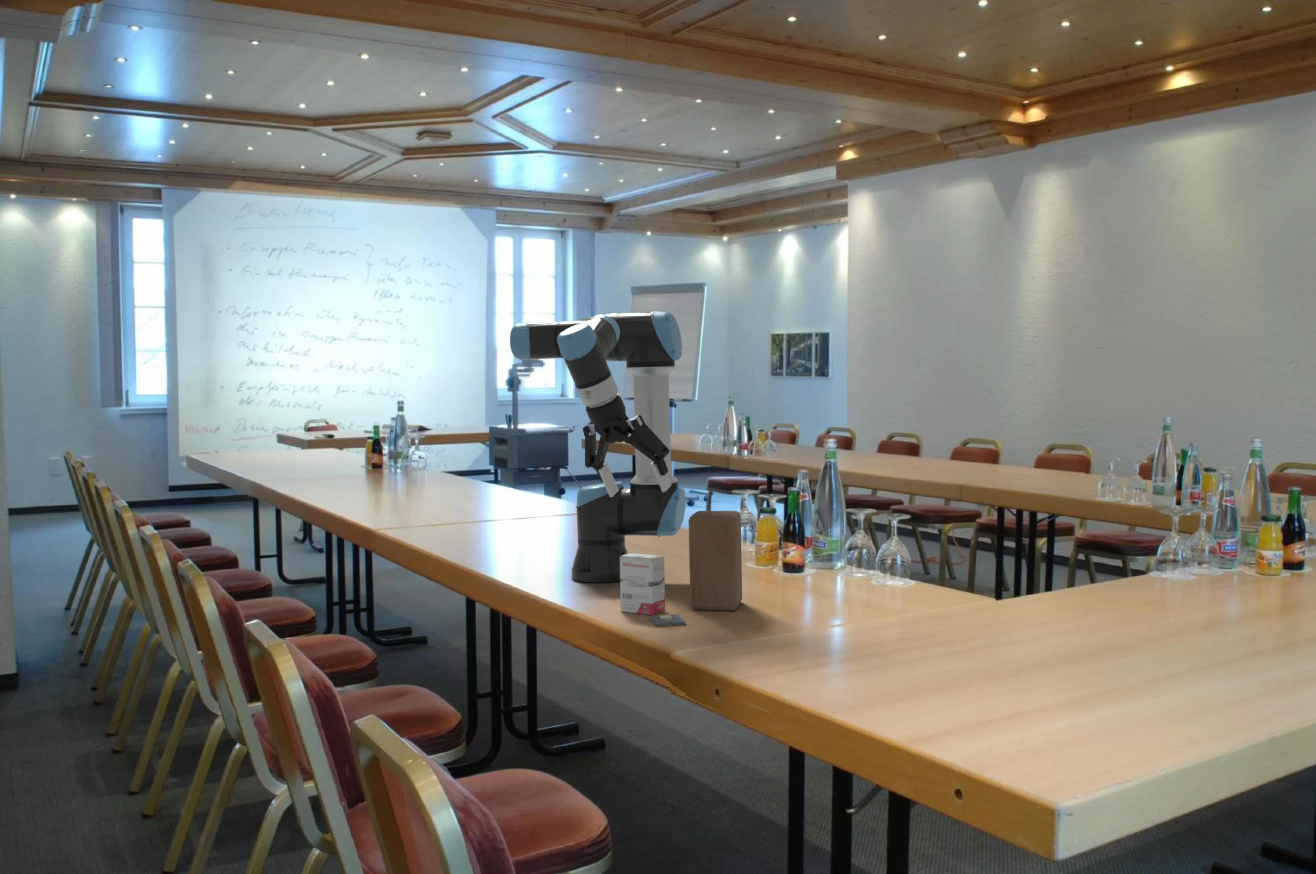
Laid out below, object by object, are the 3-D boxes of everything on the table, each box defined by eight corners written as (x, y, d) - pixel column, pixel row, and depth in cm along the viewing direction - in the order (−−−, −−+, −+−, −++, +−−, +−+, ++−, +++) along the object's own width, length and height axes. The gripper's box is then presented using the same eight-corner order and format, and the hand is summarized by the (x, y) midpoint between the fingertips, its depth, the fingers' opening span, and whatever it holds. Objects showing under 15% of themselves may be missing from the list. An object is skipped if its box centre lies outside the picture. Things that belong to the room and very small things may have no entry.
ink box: (666, 610, 223) (665, 554, 222) (653, 615, 219) (652, 558, 218) (632, 606, 228) (631, 552, 227) (619, 611, 223) (617, 555, 223)
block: (737, 612, 220) (735, 516, 219) (689, 611, 222) (687, 516, 221) (742, 601, 230) (741, 510, 229) (697, 600, 232) (695, 510, 231)
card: (649, 618, 216) (649, 615, 216) (678, 616, 217) (678, 613, 217) (656, 626, 209) (655, 622, 209) (685, 624, 210) (685, 620, 210)
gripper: (544, 415, 216) (584, 504, 223) (642, 400, 201) (681, 496, 208) (564, 399, 221) (602, 486, 228) (661, 383, 207) (698, 476, 214)
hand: (640, 491), depth 218 cm, fingers open, 13 cm apart
